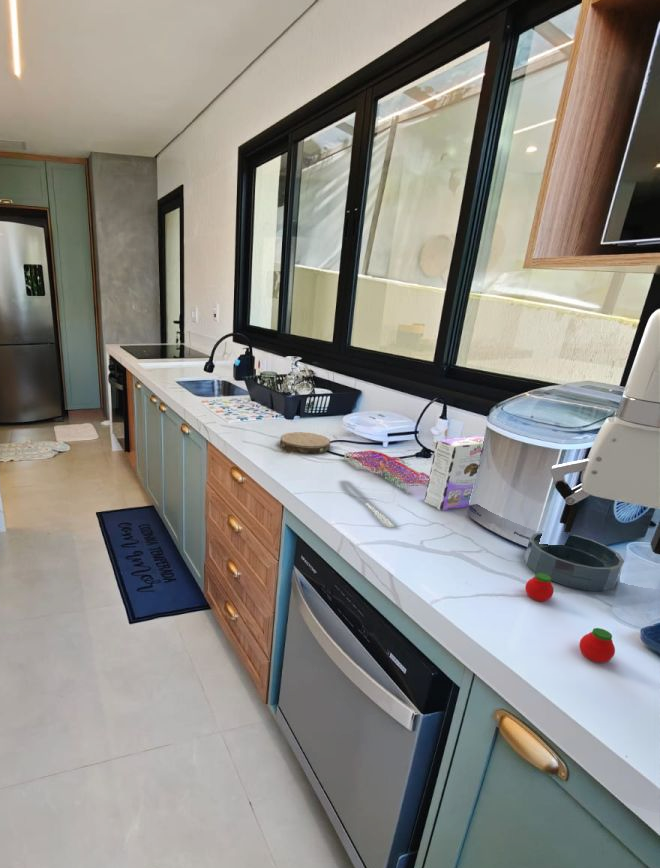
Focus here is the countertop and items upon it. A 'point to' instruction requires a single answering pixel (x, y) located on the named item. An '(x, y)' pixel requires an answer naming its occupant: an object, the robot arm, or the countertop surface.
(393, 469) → the speckled fish figure
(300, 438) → the wooden disc
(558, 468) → the robot arm
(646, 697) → the countertop surface
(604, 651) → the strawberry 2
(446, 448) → the candy box
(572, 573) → the bowl
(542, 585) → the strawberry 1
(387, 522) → the butter knife
